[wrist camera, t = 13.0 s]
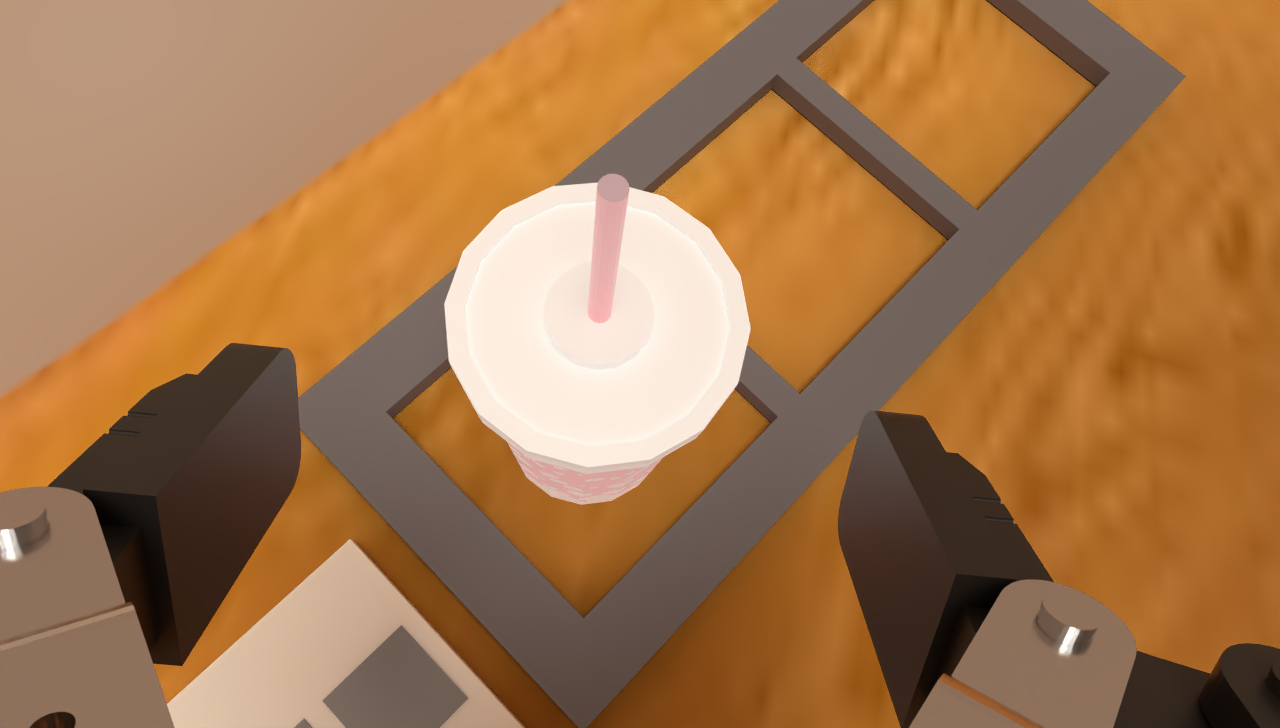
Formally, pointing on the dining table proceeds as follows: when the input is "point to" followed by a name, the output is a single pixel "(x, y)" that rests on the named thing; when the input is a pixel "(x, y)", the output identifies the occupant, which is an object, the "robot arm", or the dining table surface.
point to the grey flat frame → (801, 423)
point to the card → (341, 663)
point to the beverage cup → (595, 333)
